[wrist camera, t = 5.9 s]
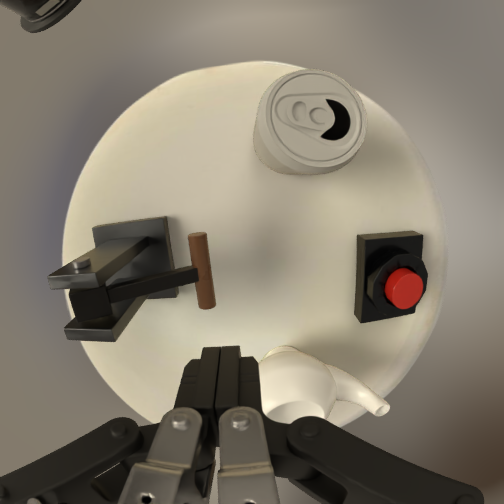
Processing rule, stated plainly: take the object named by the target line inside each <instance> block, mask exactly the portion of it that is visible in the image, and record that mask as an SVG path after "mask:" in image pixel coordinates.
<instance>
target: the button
mask: <svg viewBox="0 0 504 504" xmlns="http://www.w3.org/2000/svg"><path fill="white" fill-rule="evenodd" d="M422 291H423V282H422V279H421V278H420V277H419V276H418V275H417V274H415V273H414V272H412V271H411V270H409V269H407V268H399V269H397V270H395V271H394V272H392V273H391V274H390V276H389V277H388V279H387V281H386V284H385V294H386V297H387V298H388V299H389V300H390V301H391V302H392V303H393V304H394V305H395V306H396V307H397V308H400V309H407V308H410V307H412V306H413V305H414V304H416V302H417V301H418V300H419V299H420V297H421V294H422Z"/></svg>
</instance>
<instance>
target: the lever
mask: <svg viewBox="0 0 504 504" xmlns="http://www.w3.org/2000/svg"><path fill="white" fill-rule="evenodd" d="M188 240H189V247H190V254H191V261H192V265H191V266H187V267H183V268H179V269H175V270H170V271H166V272H162V273H158V274H154V275H150V276H145V277H141V278H137V279H133V280H129V281H125V282H121V283H116V284H112V285H108V286H106V282H105V283H104V284H102V285H101V286H100V287H97V288H76V289H70V291H69V298H70V301H71V305H72V308H73V311H74V314H75V317H76V320H77V323H80V322H84V321H88V320H92V319H96V318H100V317H104V316H108V315H112V314H113V312H112V307H111V304H112V303H116V302H120V301H124V300H128V299H132V298H136V297H140V296H144V295H148V294H152V293H155V292H159V291H163V290H167V289H171V288H175V287H179V286H183V285H187V284H190V283H194V282H195V287H196V293H197V299H198V305H199V308H200V309H211V308H214V307H215V306H216V300H215V293H214V286H213V279H212V271H211V264H210V256H209V249H208V241H207V233H205V232H197V233H192V234H190V235H188Z"/></svg>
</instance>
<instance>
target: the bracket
mask: <svg viewBox="0 0 504 504" xmlns="http://www.w3.org/2000/svg"><path fill="white" fill-rule="evenodd" d="M92 231H93V237H94V242H95V247H96V248H94V249H93V250H91V251H89V252H87V253H86V254H84V255H82V256H80V257H79V258H77V259H75V260H73V261H72V262H70V263H68V264H67V265H65V266H63V267H62V268H60V269H58V270H57V271H55V272H54V273H52V274H50V275H49V276H48V281H49V285H50V289H76V288H97V287H100V286H101V285H102V284H104V283H105V282H106V286H108V285H112V284H116V283H121V282H125V281H129V280H133V279H137V278H141V277H145V276H150V275H154V274H158V273H162V272H166V271H170V270H175V269H174V263H173V257H172V251H171V245H170V238H169V231H168V224H167V217H166V216H163V217H155V218H148V219H140V220H133V221H126V222H118V223H112V224H105V225H98V226H95V227H93V228H92ZM178 293H179V292H178V287H175V288H171V289H167V290H163V291H159V292H155V293H152V294H148V295H144V296H140V297H136V298H132V299H128V300H124V301H120V302H116V303H112V304H111V307H112V312H113V314H112V315H108V316H104V317H100V318H96V319H92V320H88V321H84V322H80V323H77V320H76V317H75V318H74V319H73V320H71V321H70V322H69V323H68V324H67V325H66V326H65V327H64V331H65V334H66V337H67V339H68V340H81V341H101V342H116V340H117V339H118V337H119V336H120V335H121V333H122V332H123V330H124V329H125V328H126V326H127V325H128V323H129V322H130V320H131V319H132V318H133V316H134V315H135V314H136V312H137V311H138V309H139V308H140V307H141V305H142V304H143V302H144V301H145V300H146V299H159V298H176V297H177V295H178Z"/></svg>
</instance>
